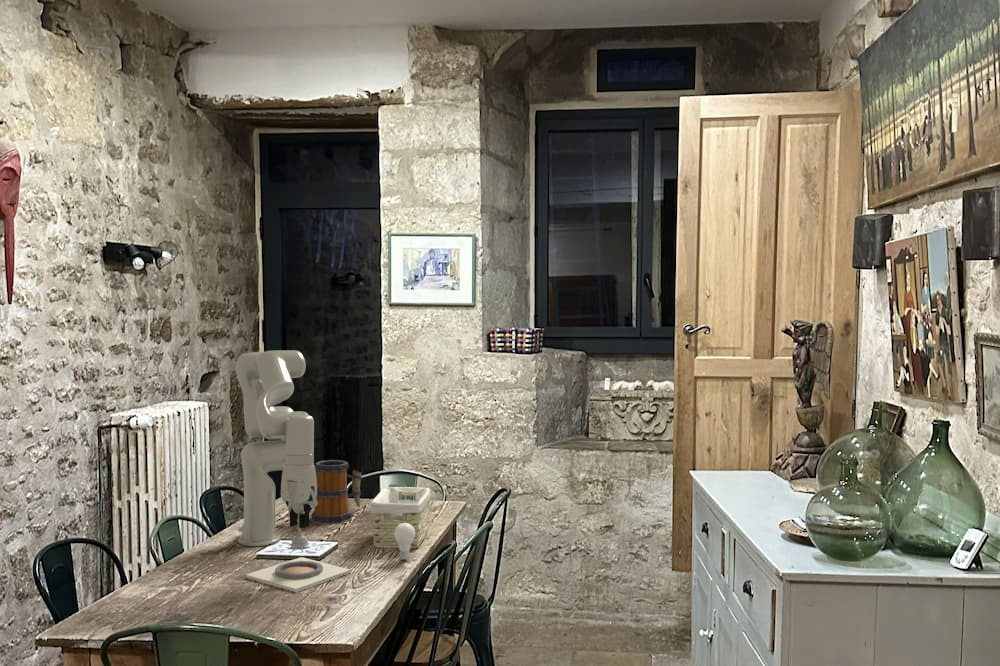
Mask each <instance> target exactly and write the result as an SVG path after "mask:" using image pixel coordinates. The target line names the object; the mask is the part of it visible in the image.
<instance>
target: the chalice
mask: <svg viewBox="0 0 1000 666" xmlns="http://www.w3.org/2000/svg"><path fill="white" fill-rule="evenodd" d="M287 482H288V484H289V499H290V504H291V506H292V508H293V510H294V512H295V513H297V514H298V519H297V522H298V525H296V527H295V528H296V529H297V534H296V535H294V536H293V538H292V540H291V543H290V547H293V548H302V547H303V548H304V547H307V546H309V545H310V542H309V540H308V539H307V536H306V535H303V532H302V530H303V528H302V529H301V528H299V514H301V508H300V507H301V503H296V502H294V501H295V493H296V492H295V485H296V484H297V483H298V482H289V481H287ZM306 505H307V504H305V507H306Z"/></svg>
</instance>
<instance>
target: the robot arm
mask: <svg viewBox="0 0 1000 666" xmlns="http://www.w3.org/2000/svg"><path fill="white" fill-rule="evenodd" d="M306 365H307V364H306V359H305V357H304V355H303V354H302V352H301V351H299V350H295V349H292V350H290V349H287V350H282V349H281V350H280V349H279V350H278V349H277V350H266V351H253V352H252V351H251V352H246V353H243V354H241V355H239V356H238V358H237V360H236V364H235V372H236V377H237V381H238V383H239V386H240V388H241V391H242V396H243V417H244V428H245V433H246V435H247V436H249V437H251V438H264V439H266V440H264V441H255V442H250V443H247V444H246V445H245V446H244V447H243V448H242V450H241V452H240V460H241V466H242V474H243V524H242V525H241V526H239V527H238V529H237V530H238V532H240V533H242V534H241V536H240V537H239V538H238V543H239V544H240V545H242V546H246V547H262V546H263V547H265V546H269V544H271V545H274V544H276V543H275V542H277V543H279V541H280V540H281V535H279V534H277V533H276V484H275V481H274V480H273V479H272V478H271V477H270V476H269V475H268V473H269V472H274V471H275V472H276V471H282V473H281V483H280V497H281V500H282V501H283V503H285V504H286V506H287V511H288V512H289V526H290V527H295V526H298V522H297V519H298V514H297V513H295V512H294V510H293V508H292V506H291V504H290V499H289V484H288V482H287V481H289V482H298V483H297V484H296V485H295V492H296V493H295V501H294V502H296V503H301V507H300V508H301V514H299V528H301V529H302V530H303V529H304V528H308V527H310V513H311V512H312V510H313V509H314V507H315V506H317V505H318V502H317V499H316V498H317V470H316V469H315V462H314V461H315V453H314V452H315V449H314V448H315V442H314V441H315V434H314V433H315V420H314V417H313V416H311V415H309V413H307V412H306V411H302V410H301V411H300V410H299V411H294V409H292V408H291V407H290V406H283V405H282V406H280V405H279V406H276V405H278V404H280V403H282V402H284V401H286V400H288V399H290V397H291V396H292V395H293V393H294V391H295V384H294V383H293V379H297V378H301V377H303V376H304V374H305V372H306ZM305 504H307V505H306V507H305ZM273 543H274V544H273Z"/></svg>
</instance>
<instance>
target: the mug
mask: <svg viewBox="0 0 1000 666" xmlns="http://www.w3.org/2000/svg"><path fill="white" fill-rule="evenodd" d="M314 466H315V471H316V480H317V498H316V499H317V502H318V505H317V506H315V507H313V512H312V513H311V516H310V518H309V521H311V523H313V524H318V525H319V524H320V525H338V524H337V523H340V524H344V522H345V523H348V522H351V520H352V519H353V516H352V513H351V511H350V509H349V507H350V506H349V498H352V497H353V499H354V502H355V504H356V505H357V507H358V508H361V507H360V506H361V503H360V500H361V499H360V496H361V495H362V494H361V493H362V492H361V490H360V489H361V481H362V472H361V471H359V470H357V469H356V470H355V469H353V470H352V474H347V471H348V469H349V468H350V466H349V462H348V461H345V460H339V459H338V460H337V459H328V460H320V461H316V462H315V463H314ZM347 478H351V489H352V492H351V493H349V492H348V491H349V488H348V486H347V485H348V484H347V482H348V480H347Z"/></svg>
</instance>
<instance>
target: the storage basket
mask: <svg viewBox="0 0 1000 666" xmlns="http://www.w3.org/2000/svg"><path fill="white" fill-rule="evenodd" d="M400 496H415V497H416V500H415V501H413V500H412V501H410V500H408V501H407V500H400ZM431 496H432V493H431V489H430V488H429V487H414V486H413V487H412V486H409V487H408V486H407V487H406V486H385V487H383V489H382V490H380V492H378V494H377V495H376V496H375V497H374V498H373V499H372V501H371V502H370V516H371V524H372V526H371V527H372V536H373V546H374V547H375V548H379V549H381V548H384V549H389V548H390V549H399V546H398V544H397V542H396V540H395V538H394V530H395V528H396V527H397V526H398V525H399V524H401V523H408V524H410V525H412V526H413V527H414V529H415V538H414V540H413V542H412V543H411V546H410V549H409V550H411V549H418V548H419V547H420V546H421V544H422V542H423V541H424V540H425V537H426V535H427V533H428V531H429V529H430V528H429V521H430V516H429V515H430V504H431V503H430V502H431Z"/></svg>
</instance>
